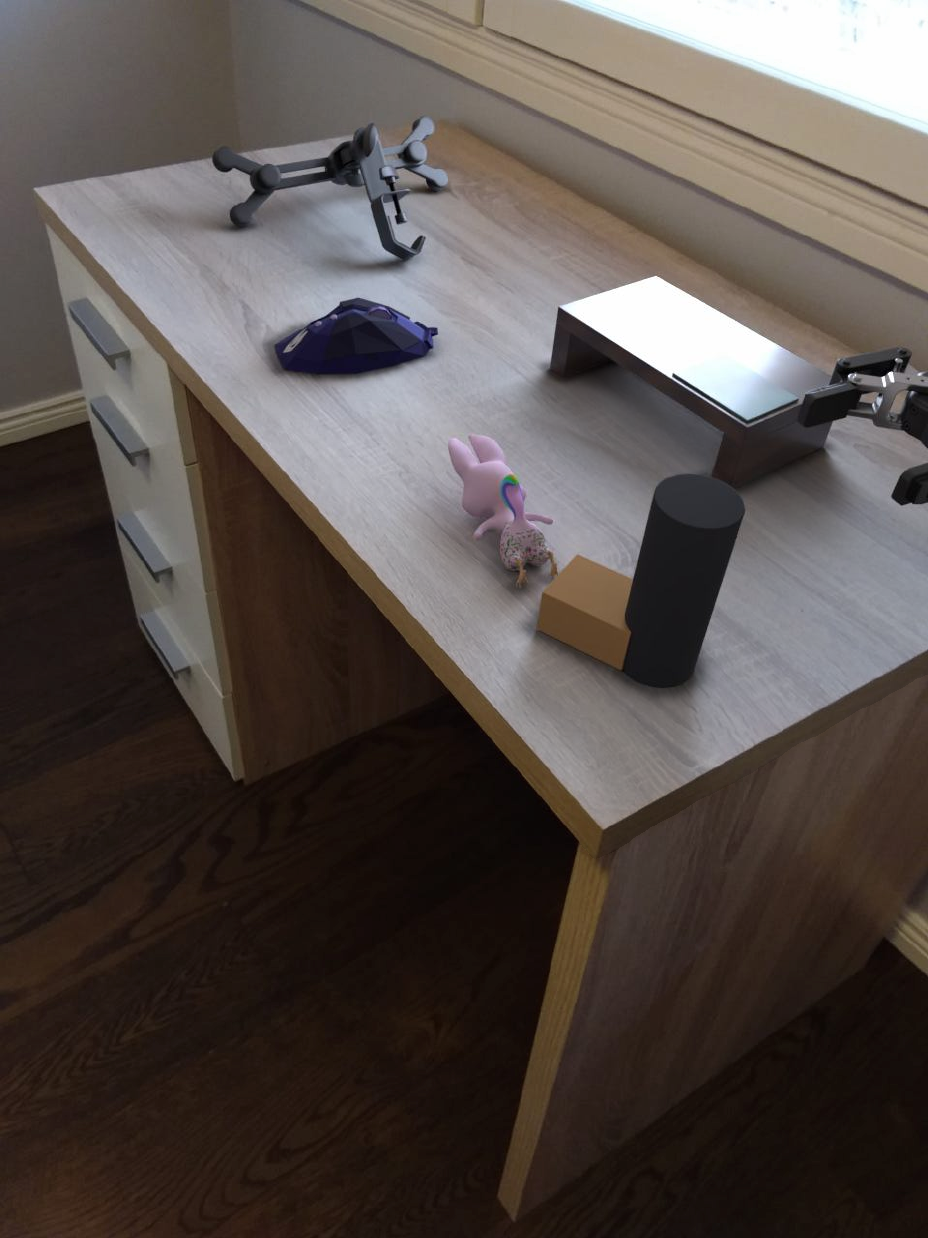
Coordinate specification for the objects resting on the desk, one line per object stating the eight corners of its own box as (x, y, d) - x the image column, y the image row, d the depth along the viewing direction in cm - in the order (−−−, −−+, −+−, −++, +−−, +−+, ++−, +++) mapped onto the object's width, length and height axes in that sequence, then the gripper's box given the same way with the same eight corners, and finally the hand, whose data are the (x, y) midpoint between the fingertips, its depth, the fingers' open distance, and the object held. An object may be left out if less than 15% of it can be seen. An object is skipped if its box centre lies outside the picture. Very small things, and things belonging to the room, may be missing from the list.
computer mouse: (267, 329, 95) (264, 288, 92) (421, 314, 98) (423, 275, 96) (286, 381, 88) (283, 339, 86) (449, 363, 92) (452, 323, 89)
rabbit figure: (573, 587, 73) (494, 446, 81) (591, 532, 69) (506, 387, 77) (493, 606, 71) (421, 459, 79) (506, 550, 67) (428, 400, 75)
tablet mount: (464, 261, 123) (426, 117, 119) (527, 229, 110) (486, 68, 107) (257, 308, 111) (208, 151, 108) (301, 279, 99) (247, 100, 95)
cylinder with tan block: (707, 652, 68) (759, 495, 59) (674, 700, 64) (724, 541, 55) (571, 589, 71) (600, 431, 62) (534, 631, 68) (559, 471, 59)
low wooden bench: (824, 446, 86) (848, 382, 82) (728, 491, 81) (748, 425, 76) (643, 334, 98) (656, 273, 94) (549, 367, 93) (558, 304, 89)
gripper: (976, 294, 69) (791, 336, 63) (1158, 402, 60) (963, 463, 55) (933, 390, 74) (759, 437, 69) (1095, 502, 66) (911, 567, 60)
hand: (849, 448), depth 62 cm, fingers open, 8 cm apart
